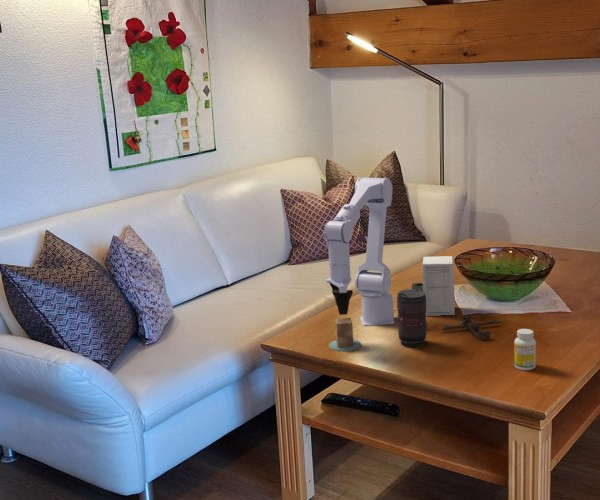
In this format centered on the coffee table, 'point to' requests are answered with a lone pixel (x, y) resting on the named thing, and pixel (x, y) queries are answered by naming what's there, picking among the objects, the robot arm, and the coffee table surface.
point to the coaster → (355, 346)
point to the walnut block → (344, 332)
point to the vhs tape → (417, 286)
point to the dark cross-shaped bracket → (473, 327)
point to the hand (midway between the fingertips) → (341, 309)
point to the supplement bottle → (525, 350)
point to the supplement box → (439, 285)
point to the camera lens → (411, 317)
